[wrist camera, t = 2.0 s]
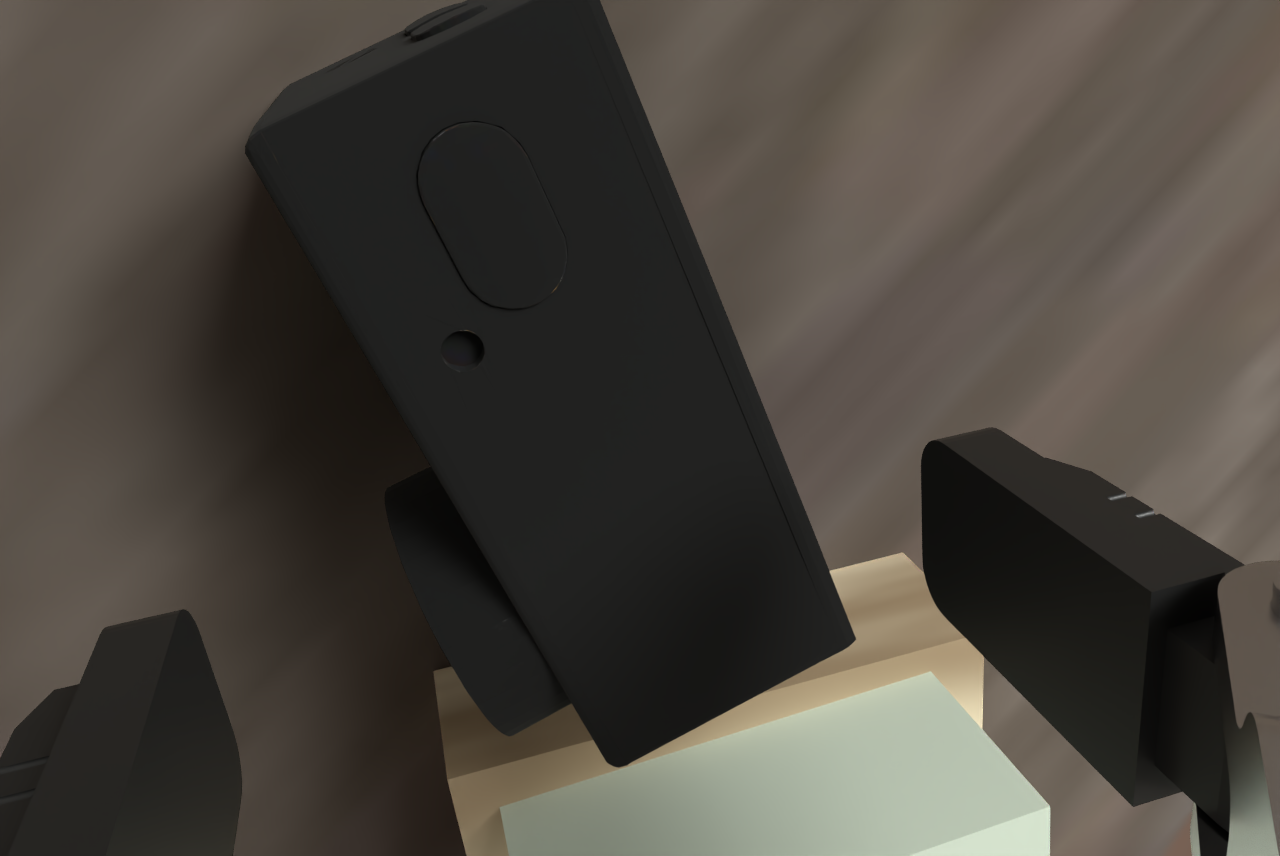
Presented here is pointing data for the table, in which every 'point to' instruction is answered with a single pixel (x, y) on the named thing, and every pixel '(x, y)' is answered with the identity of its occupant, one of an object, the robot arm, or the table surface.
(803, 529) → the digital camera
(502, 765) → the block bottom
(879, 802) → the block top
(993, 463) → the robot arm
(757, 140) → the table surface
